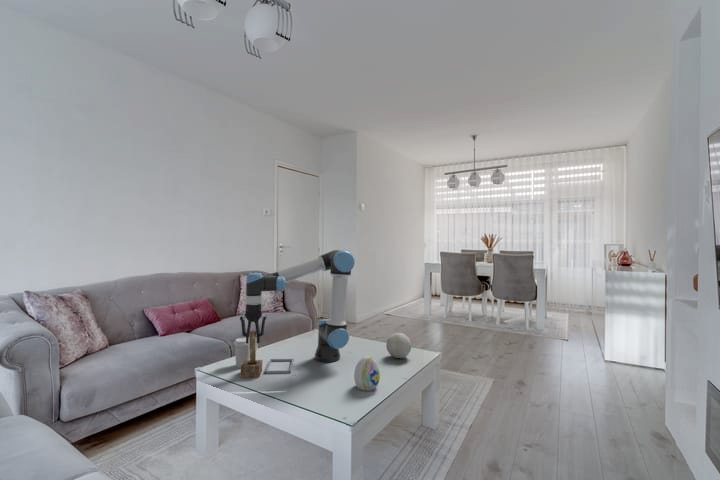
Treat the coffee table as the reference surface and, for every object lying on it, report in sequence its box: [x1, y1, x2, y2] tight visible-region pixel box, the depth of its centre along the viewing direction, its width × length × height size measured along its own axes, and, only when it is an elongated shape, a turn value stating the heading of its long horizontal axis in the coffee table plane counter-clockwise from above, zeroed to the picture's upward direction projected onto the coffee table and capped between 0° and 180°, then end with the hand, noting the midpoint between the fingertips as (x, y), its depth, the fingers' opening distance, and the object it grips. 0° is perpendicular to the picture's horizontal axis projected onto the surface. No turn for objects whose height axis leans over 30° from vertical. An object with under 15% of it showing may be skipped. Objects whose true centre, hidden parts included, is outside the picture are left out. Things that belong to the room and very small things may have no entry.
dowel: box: [249, 330, 257, 364], centre depth 176 cm, size 3×3×16 cm
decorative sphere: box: [386, 332, 412, 359], centre depth 210 cm, size 15×15×15 cm
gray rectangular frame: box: [264, 358, 295, 375], centre depth 187 cm, size 13×19×2 cm
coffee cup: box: [233, 337, 250, 369], centre depth 187 cm, size 10×10×15 cm
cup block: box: [240, 359, 263, 379], centre depth 176 cm, size 9×9×6 cm
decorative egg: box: [353, 355, 381, 392], centre depth 165 cm, size 12×12×15 cm
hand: (252, 349), depth 176 cm, fingers closed on dowel, 3 cm apart
